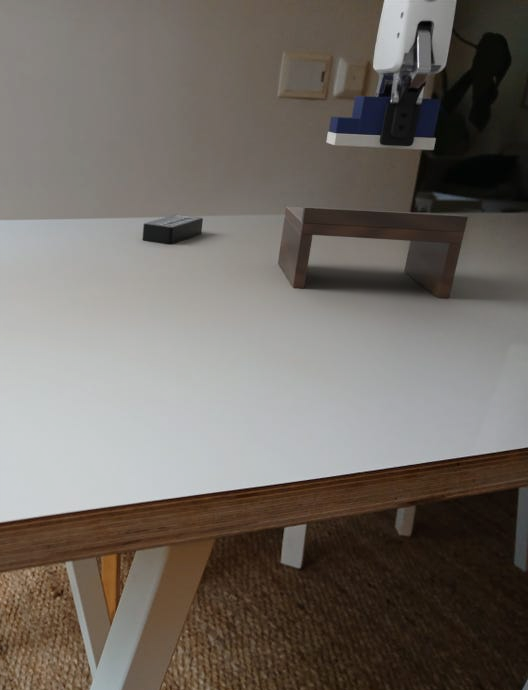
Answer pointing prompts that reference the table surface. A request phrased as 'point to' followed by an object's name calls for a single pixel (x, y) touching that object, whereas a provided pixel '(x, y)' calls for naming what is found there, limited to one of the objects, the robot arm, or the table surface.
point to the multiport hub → (172, 229)
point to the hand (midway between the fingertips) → (389, 141)
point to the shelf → (419, 228)
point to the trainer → (381, 124)
